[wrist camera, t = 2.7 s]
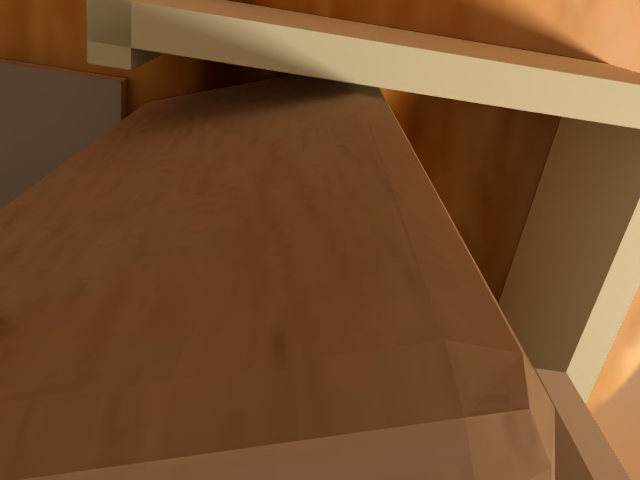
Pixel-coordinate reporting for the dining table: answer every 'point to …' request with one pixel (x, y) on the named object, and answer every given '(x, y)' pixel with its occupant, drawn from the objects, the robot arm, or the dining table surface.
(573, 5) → the dining table surface
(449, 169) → the dining table surface
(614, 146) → the crate
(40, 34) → the dining table surface
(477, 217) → the dining table surface
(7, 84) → the trivet
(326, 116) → the wooden block
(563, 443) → the robot arm
